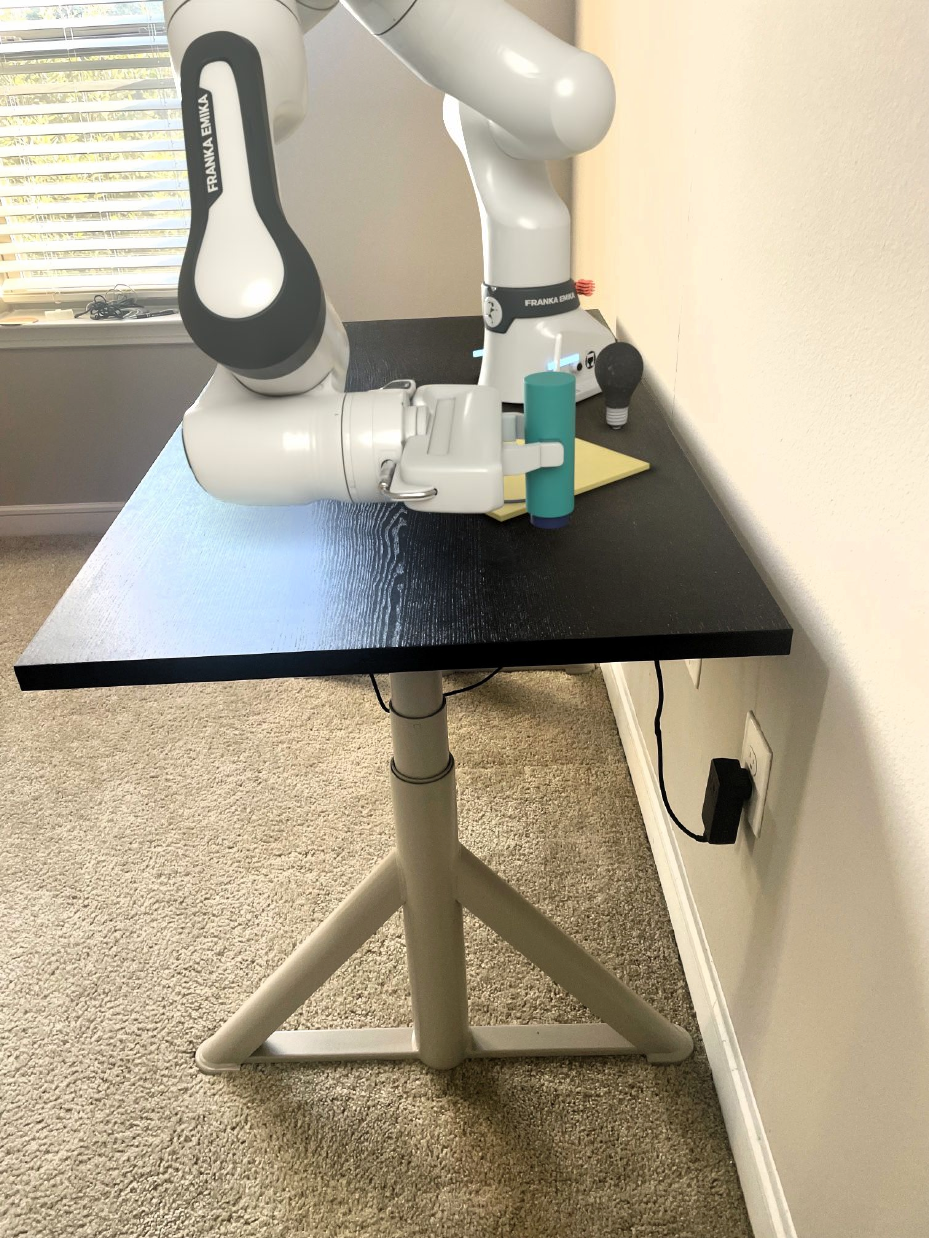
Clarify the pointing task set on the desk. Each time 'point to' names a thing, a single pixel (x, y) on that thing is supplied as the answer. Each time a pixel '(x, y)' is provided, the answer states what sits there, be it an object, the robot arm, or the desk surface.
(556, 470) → the cylinder
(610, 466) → the writing pad
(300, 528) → the desk surface
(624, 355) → the light bulb
